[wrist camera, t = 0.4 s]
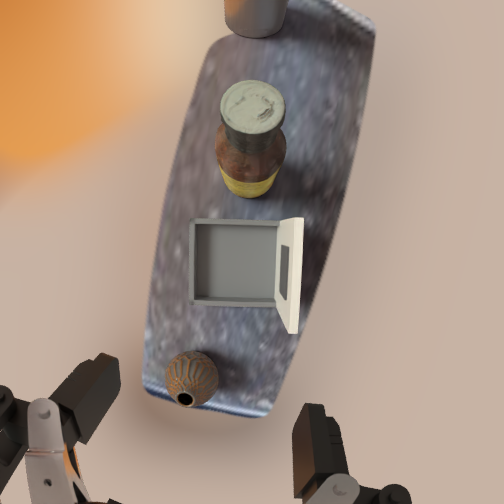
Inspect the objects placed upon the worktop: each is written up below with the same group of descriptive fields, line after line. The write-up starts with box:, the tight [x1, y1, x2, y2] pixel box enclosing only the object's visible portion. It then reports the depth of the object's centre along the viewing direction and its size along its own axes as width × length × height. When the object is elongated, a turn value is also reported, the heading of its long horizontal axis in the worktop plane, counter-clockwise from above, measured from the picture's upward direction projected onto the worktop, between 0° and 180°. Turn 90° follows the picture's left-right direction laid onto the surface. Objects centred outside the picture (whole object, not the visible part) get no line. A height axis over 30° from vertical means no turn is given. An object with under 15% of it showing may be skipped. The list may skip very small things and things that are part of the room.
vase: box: [165, 351, 219, 408], centre depth 32 cm, size 7×7×9 cm
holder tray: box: [189, 217, 304, 334], centre depth 30 cm, size 10×11×12 cm
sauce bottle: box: [215, 80, 286, 198], centre depth 25 cm, size 6×6×20 cm
